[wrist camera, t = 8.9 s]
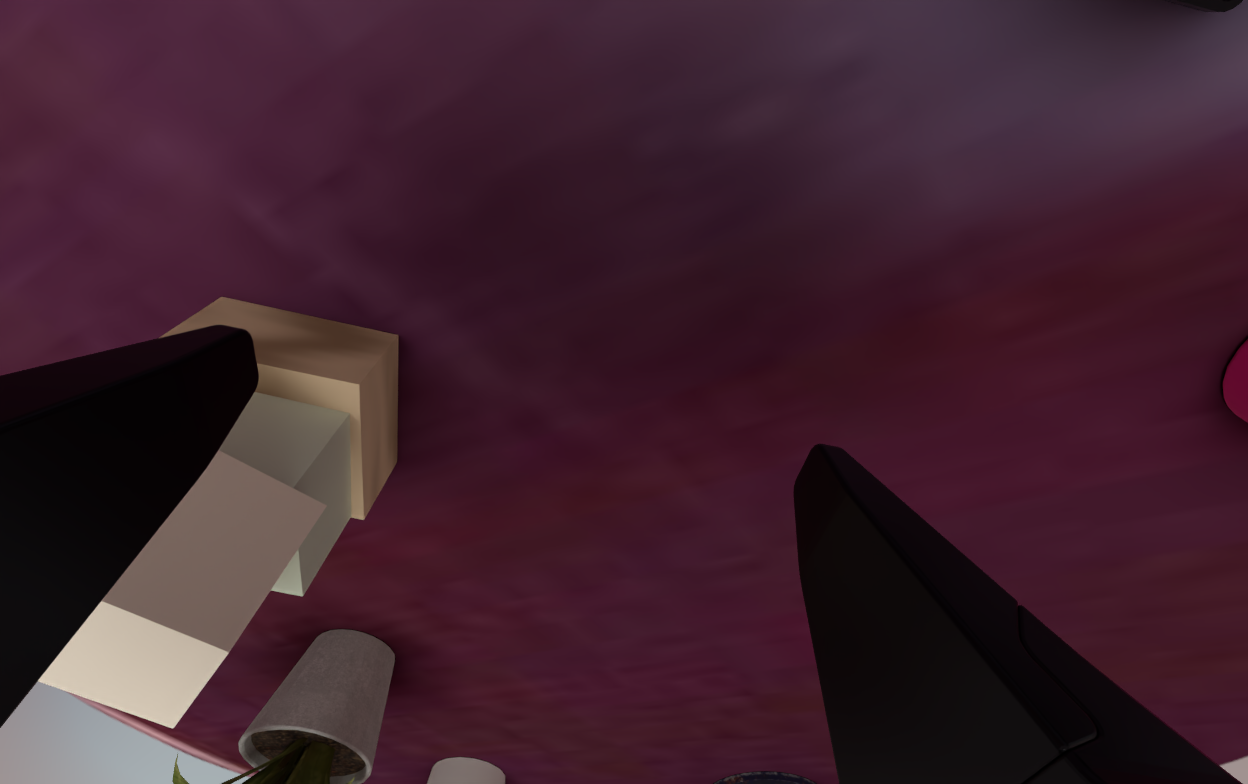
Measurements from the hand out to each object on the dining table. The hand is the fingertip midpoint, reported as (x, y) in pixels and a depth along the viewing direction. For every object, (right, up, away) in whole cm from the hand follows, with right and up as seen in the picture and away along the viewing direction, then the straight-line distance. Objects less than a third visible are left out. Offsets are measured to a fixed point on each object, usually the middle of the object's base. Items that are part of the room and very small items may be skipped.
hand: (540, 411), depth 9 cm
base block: (-12, +1, +16) cm, 20 cm away
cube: (-12, -4, +9) cm, 15 cm away
